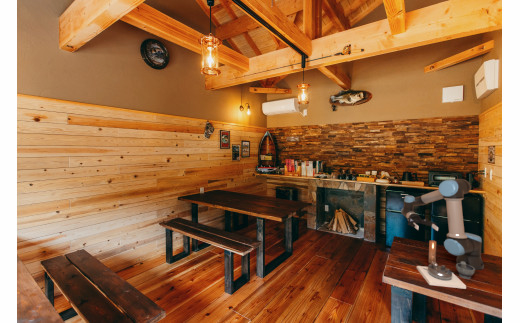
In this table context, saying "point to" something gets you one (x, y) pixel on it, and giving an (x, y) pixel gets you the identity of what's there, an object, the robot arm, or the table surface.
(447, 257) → the table surface
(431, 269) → the crank handle
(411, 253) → the table surface
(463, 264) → the mortar and pestle
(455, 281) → the base plate
